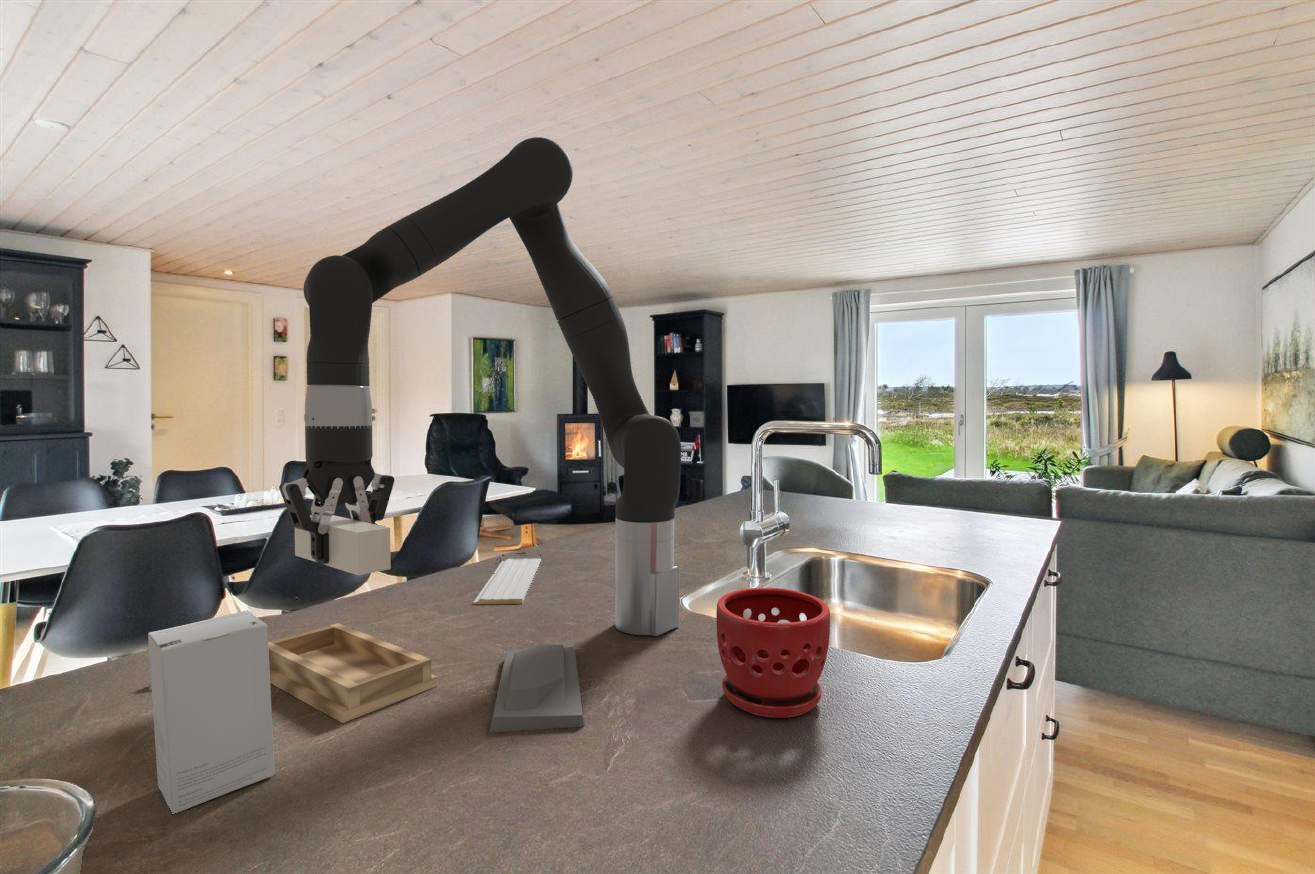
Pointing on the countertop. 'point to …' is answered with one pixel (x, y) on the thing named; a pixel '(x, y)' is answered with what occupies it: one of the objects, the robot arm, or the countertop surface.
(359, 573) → the white rectangular block
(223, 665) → the skincare box
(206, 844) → the countertop surface
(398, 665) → the tray
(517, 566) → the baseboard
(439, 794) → the countertop surface
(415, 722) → the countertop surface
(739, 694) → the plant pot
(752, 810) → the countertop surface
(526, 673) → the soap mold
